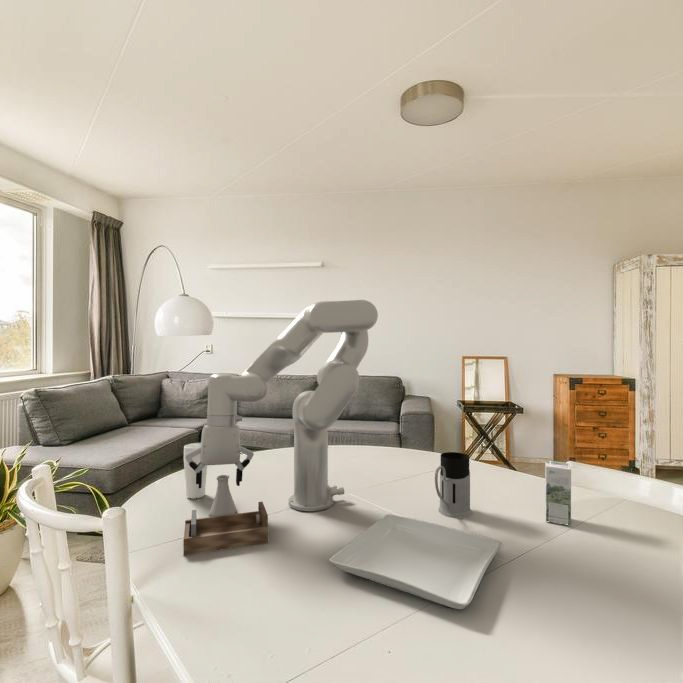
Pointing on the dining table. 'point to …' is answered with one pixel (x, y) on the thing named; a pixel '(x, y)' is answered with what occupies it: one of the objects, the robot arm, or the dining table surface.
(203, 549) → the wooden tray
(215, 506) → the flask
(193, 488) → the drinking glass
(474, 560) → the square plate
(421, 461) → the dining table surface
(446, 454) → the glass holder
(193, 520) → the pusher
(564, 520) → the syrup box
